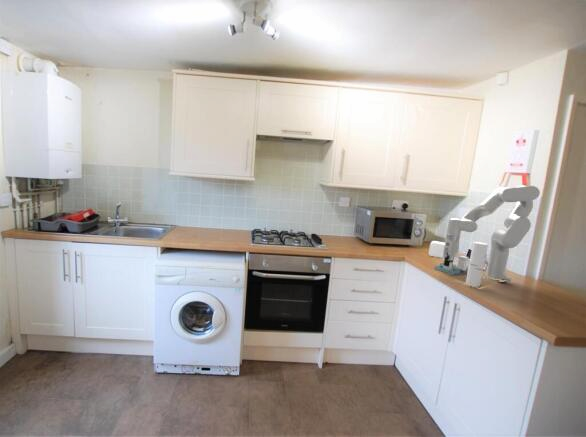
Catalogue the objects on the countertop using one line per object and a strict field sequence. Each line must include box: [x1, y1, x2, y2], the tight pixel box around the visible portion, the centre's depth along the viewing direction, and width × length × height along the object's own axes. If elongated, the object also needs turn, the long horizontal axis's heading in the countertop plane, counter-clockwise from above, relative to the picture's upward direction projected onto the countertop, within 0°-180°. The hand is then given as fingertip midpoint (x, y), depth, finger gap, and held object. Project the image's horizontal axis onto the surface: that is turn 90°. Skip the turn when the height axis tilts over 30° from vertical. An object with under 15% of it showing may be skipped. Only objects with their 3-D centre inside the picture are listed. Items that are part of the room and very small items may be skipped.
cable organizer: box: [428, 240, 445, 259], centre depth 232 cm, size 15×11×12 cm
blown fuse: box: [443, 254, 455, 270], centre depth 192 cm, size 4×4×10 cm
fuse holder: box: [439, 262, 468, 275], centre depth 198 cm, size 16×8×3 cm, turn 34°
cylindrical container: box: [465, 241, 489, 287], centre depth 170 cm, size 7×7×25 cm
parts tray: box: [434, 264, 461, 276], centre depth 193 cm, size 12×9×3 cm
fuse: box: [457, 255, 470, 270], centre depth 194 cm, size 4×4×10 cm
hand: (448, 265), depth 193 cm, fingers closed on blown fuse, 3 cm apart
